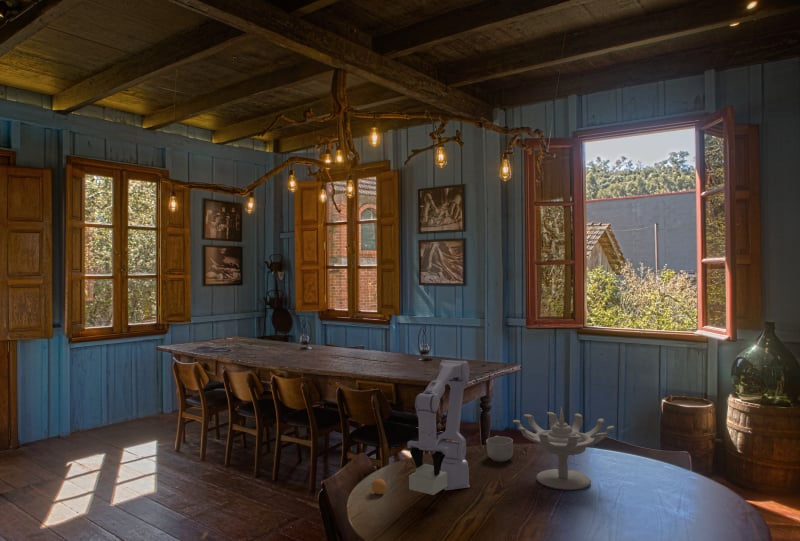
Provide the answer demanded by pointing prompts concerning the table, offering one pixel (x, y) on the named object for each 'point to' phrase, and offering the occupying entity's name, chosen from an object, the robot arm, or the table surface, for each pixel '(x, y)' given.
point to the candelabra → (563, 448)
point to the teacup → (500, 448)
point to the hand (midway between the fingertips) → (428, 473)
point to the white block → (427, 480)
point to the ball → (379, 486)
